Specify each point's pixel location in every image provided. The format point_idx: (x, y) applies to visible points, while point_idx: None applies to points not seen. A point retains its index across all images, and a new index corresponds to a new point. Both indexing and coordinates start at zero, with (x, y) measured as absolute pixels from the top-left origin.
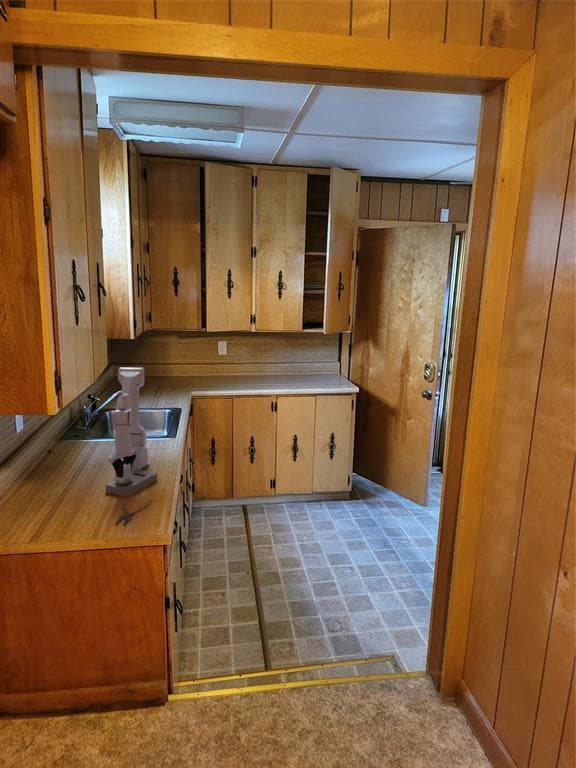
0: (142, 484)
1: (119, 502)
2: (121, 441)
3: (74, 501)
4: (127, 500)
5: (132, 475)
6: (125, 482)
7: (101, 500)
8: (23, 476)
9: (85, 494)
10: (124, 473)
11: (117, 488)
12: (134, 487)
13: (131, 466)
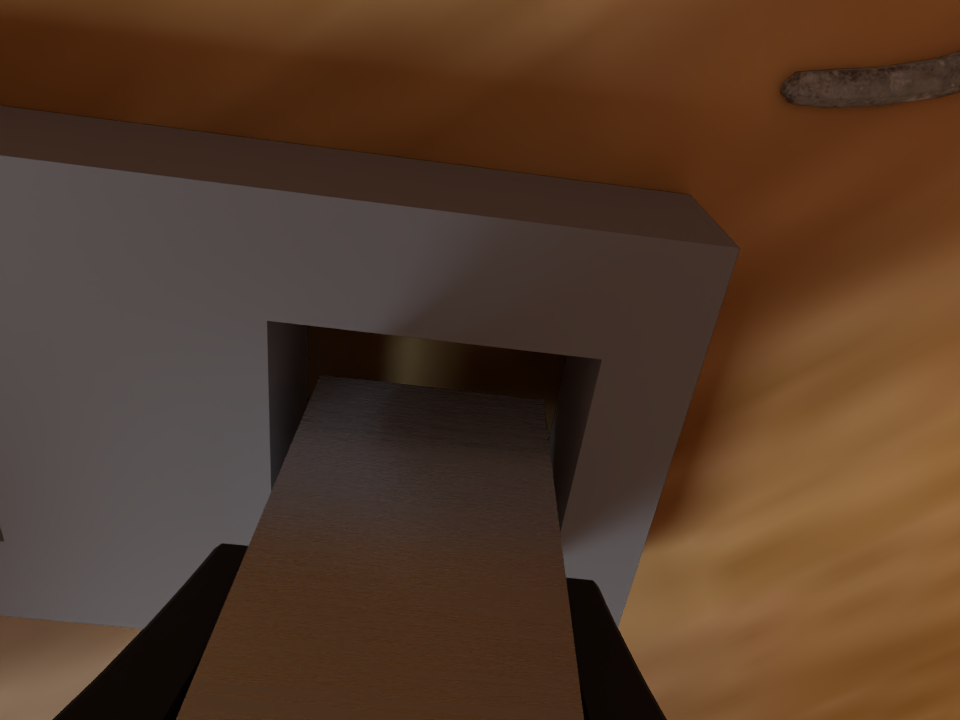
0: (183, 152)
1: (929, 198)
2: None
3: (924, 706)
4: (879, 79)
5: (42, 514)
6: (495, 436)
7: (869, 483)
8: None
9: (712, 707)
10: (532, 627)
11: (665, 455)
12: (464, 197)
13: (121, 709)
